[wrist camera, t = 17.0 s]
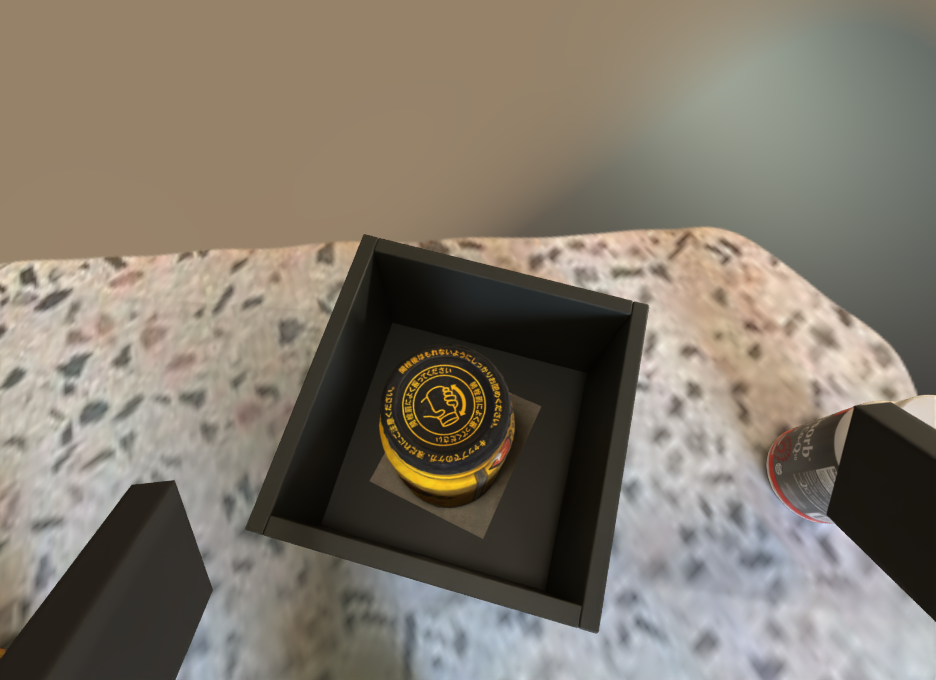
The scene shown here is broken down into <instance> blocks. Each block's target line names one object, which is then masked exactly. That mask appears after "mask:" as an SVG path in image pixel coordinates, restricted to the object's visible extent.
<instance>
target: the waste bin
mask: <svg viewBox="0 0 936 680" xmlns="http://www.w3.org/2000/svg"><path fill="white" fill-rule="evenodd" d="M648 311H649V305H647V304H643V303H639V302H633V301H631V300H627V299H623V298H619V297H615V296H611V295H607V294H603V293H599V292H595V291H591V290H587V289H583V288H579V287H575V286H571V285H567V284H563V283H559V282H555V281H551V280H546V279H542V278H538V277H534V276H530V275H526V274H522V273H518V272H514V271H510V270H506V269H502V268H498V267H494V266H490V265H486V264H482V263H478V262H474V261H470V260H466V259H462V258H458V257H454V256H450V255H446V254H442V253H438V252H434V251H430V250H426V249H422V248H418V247H414V246H410V245H406V244H401V243H397V242H393V241H389V240H385V239H381V238H379V239H378V238H377V237H373V236H370V235H365V234H364V235H363V237H362V240H361V242H360V245H359V247H358V250H357V252H356V255H355V257H354V260H353V262H352V265H351V267H350V270H349V272H348V275H347V277H346V280H345V282H344V285H343V287H342V290H341V292H340V294H339V297H338V299H337V302H336V304H335V307H334V309H333V312H332V314H331V317H330V319H329V322H328V324H327V327H326V329H325V332H324V334H323V337H322V339H321V342H320V344H319V347H318V349H317V352H316V354H315V357H314V359H313V361H312V364H311V366H310V369H309V371H308V374H307V376H306V379H305V381H304V384H303V386H302V389H301V391H300V394H299V396H298V399H297V401H296V404H295V406H294V409H293V411H292V414H291V416H290V419H289V421H288V424H287V426H286V428H285V431H284V433H283V436H282V438H281V441H280V443H279V446H278V448H277V451H276V453H275V456H274V458H273V461H272V463H271V466H270V468H269V471H268V473H267V476H266V478H265V481H264V483H263V486H262V488H261V491H260V493H259V495H258V498H257V500H256V503H255V505H254V508H253V510H252V513H251V515H250V518H249V520H248V523H247V525H246V528H245V529H246V530H248V531H251V532H254V533H258V534H261V535H264V536H268V537H271V538H275V539H278V540H281V541H285V542H288V543H291V544H295V545H298V546H302V547H305V548H308V549H312V550H315V551H318V552H322V553H325V554H329V555H332V556H335V557H339V558H342V559H346V560H349V561H352V562H356V563H359V564H362V565H366V566H369V567H373V568H376V569H379V570H383V571H386V572H390V573H393V574H396V575H400V576H403V577H406V578H410V579H413V580H417V581H420V582H423V583H427V584H430V585H433V586H437V587H440V588H444V589H447V590H450V591H454V592H457V593H461V594H464V595H467V596H471V597H474V598H477V599H481V600H484V601H488V602H491V603H494V604H498V605H501V606H504V607H508V608H511V609H515V610H518V611H521V612H525V613H528V614H532V615H535V616H538V617H542V618H545V619H548V620H552V621H555V622H559V623H562V624H565V625H569V626H572V627H575V628H580V629H582V630H586V631H589V632H593V633H598V632H599V626H600V619H601V613H602V607H603V600H604V594H605V587H606V581H607V574H608V568H609V562H610V555H611V549H612V542H613V536H614V529H615V523H616V517H617V510H618V504H619V497H620V491H621V484H622V478H623V472H624V465H625V459H626V452H627V446H628V439H629V433H630V427H631V420H632V414H633V407H634V401H635V394H636V388H637V382H638V375H639V369H640V362H641V356H642V349H643V343H644V337H645V330H646V324H647V317H648ZM440 344H453V345H460V346H463V347H467V348H469V349H471V350H473V351H476V352H478V353H480V354H481V355H483V356H484V357H486V358H487V359H489V360H490V361H491V362H492V363H493V365H495V366H496V368H497V370H498V371H500V372H501V374H502V375H503V378H504V381H505V382H506V383H507V385H508V388H509V390H508V391H509V392H510V393H512V394H514V395H516V396H518V397H521V398H523V399H525V400H527V401H530V402H533V403H535V404H537V405H539V406H541V408H540V411H539V413H538V415H537V417H536V420H535V422H534V424H533V426H532V429H531V431H530V433H529V436H528V438H527V440H526V442H525V445H524V447H523V449H522V451H521V453H520V456H519V458H518V461H517V463H516V465H515V467H514V470H513V472H512V474H511V476H510V479H509V481H508V483H507V485H506V488H505V490H504V492H503V495H502V497H501V499H500V501H499V504H498V506H497V508H496V510H495V513H494V515H493V517H492V520H491V522H490V524H489V526H488V529H487V531H486V533H485V536H484V538H483V539H482V538H480V537H478V536H476V535H474V534H472V533H470V532H468V531H466V530H464V529H462V528H460V527H459V526H456V525H454V524H452V523H450V522H448V521H447V520H445V519H443V518H441V517H439V516H437V515H435V514H433V513H431V512H429V511H427V510H425V509H423V508H421V507H419V506H417V505H415V504H413V503H411V502H409V501H407V500H405V499H403V498H401V497H399V496H398V495H396V494H394V493H392V492H390V491H388V490H386V489H384V488H382V487H380V486H378V485H376V484H374V483H372V482H370V479H371V477H372V476H373V474H374V472H375V470H376V469H377V467H378V465H379V463H380V461H381V459H382V457H383V455H384V454H385V451H384V449H383V445H382V441H381V437H380V431H379V423H380V411H379V407H380V406H381V395H382V391H383V388H384V386H385V383H386V382H387V380H388V378H389V376H390V375H391V373H392V371H393V370H394V369H395V367H396V366H397V365H398V364H399V363H400V362H401V361H402V360H404V359H405V358H407V357H408V356H410V355H411V354H412V353H415V352H416V351H418V350H419V349H421V348H422V347H426V346H433V345H440Z"/></svg>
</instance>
